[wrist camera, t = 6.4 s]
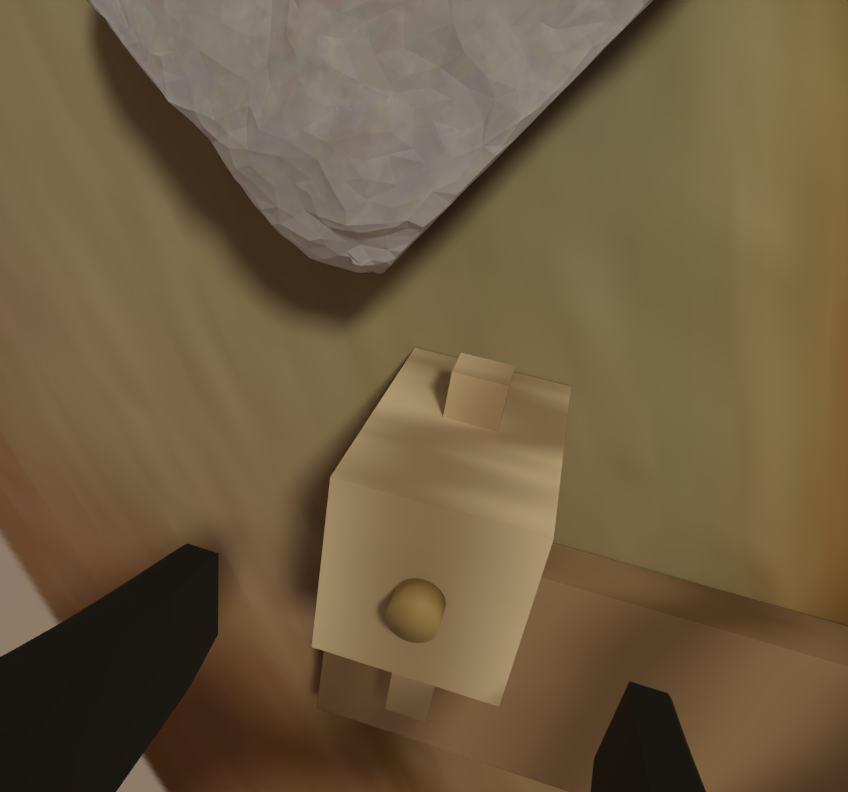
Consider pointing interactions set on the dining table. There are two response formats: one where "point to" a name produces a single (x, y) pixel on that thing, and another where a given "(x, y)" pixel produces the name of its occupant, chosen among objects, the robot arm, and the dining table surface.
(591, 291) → the dining table surface
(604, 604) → the board
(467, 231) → the dining table surface
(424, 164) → the stone block
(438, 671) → the block
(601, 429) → the dining table surface
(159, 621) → the robot arm
